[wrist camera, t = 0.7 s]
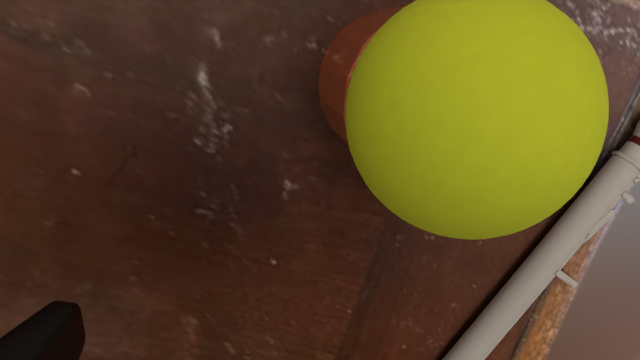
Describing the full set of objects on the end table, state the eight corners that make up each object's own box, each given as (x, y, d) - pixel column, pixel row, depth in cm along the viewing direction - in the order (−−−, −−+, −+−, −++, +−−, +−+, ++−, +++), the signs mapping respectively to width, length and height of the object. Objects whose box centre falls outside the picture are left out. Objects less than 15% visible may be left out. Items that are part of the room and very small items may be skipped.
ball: (559, 52, 19) (734, 67, 12) (460, 224, 20) (570, 323, 14) (388, -50, 17) (485, -96, 11) (291, 147, 18) (323, 215, 12)
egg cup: (483, 50, 24) (561, 59, 18) (414, 175, 25) (468, 221, 19) (360, -20, 22) (403, -35, 16) (292, 117, 23) (311, 147, 17)
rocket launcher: (707, 71, 23) (739, 115, 25) (673, 63, 25) (706, 105, 27) (421, 411, 26) (467, 430, 28) (406, 386, 28) (450, 405, 29)
